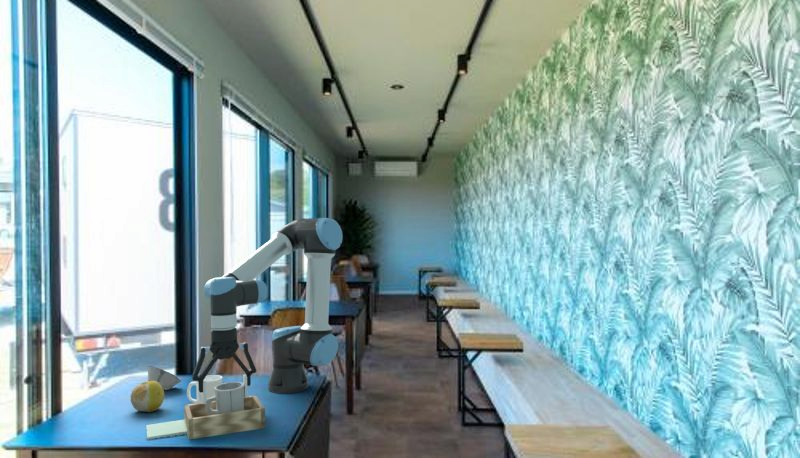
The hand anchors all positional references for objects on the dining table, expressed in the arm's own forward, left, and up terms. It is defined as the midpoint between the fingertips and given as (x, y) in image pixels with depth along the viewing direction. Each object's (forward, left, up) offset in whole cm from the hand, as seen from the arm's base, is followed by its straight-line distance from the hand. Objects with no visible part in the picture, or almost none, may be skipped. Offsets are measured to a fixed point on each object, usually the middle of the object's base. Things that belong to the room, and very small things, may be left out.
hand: (225, 399), depth 167 cm
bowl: (+15, -50, -8) cm, 53 cm away
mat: (+16, -3, -8) cm, 19 cm away
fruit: (+21, -26, -8) cm, 35 cm away
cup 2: (-1, 0, -8) cm, 8 cm away
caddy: (0, 0, -8) cm, 8 cm away
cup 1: (+4, -21, -8) cm, 23 cm away
